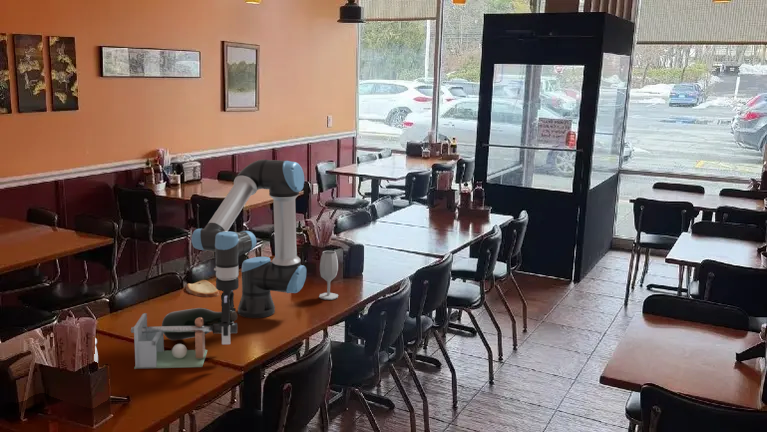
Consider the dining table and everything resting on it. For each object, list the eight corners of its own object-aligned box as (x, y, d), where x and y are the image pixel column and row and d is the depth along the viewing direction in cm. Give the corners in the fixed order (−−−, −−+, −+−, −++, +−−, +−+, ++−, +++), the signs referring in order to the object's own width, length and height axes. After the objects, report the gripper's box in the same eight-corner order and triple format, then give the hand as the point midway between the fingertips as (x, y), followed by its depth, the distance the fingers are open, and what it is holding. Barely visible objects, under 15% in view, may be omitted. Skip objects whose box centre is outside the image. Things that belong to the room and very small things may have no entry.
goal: (164, 351, 241) (162, 313, 238) (156, 368, 228) (154, 327, 225) (144, 352, 240) (143, 313, 238) (135, 368, 227) (133, 327, 224)
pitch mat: (207, 350, 243) (207, 349, 243) (202, 366, 230) (202, 365, 229) (143, 352, 240) (143, 351, 240) (134, 368, 227) (134, 367, 227)
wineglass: (315, 298, 305) (315, 253, 301) (324, 293, 313) (324, 249, 309) (333, 301, 302) (333, 255, 298) (341, 296, 310) (342, 251, 306)
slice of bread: (217, 298, 303) (217, 290, 302) (177, 296, 304) (177, 288, 303) (228, 286, 321) (228, 278, 320) (190, 285, 321) (190, 277, 321)
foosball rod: (238, 350, 240) (237, 314, 238) (236, 357, 235) (236, 320, 232) (134, 352, 236) (133, 315, 233) (130, 359, 230) (129, 321, 227)
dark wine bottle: (156, 321, 247) (218, 310, 229) (175, 307, 256) (237, 295, 238) (168, 346, 250) (231, 336, 232) (188, 331, 258) (249, 321, 240)
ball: (188, 354, 238) (187, 341, 237) (185, 360, 233) (185, 346, 232) (173, 355, 237) (173, 341, 236) (170, 361, 232) (170, 347, 231)
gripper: (219, 267, 243) (220, 324, 247) (211, 288, 219) (212, 350, 223) (241, 267, 244) (241, 324, 248) (235, 288, 220) (236, 350, 224)
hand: (228, 336), depth 236 cm, fingers open, 13 cm apart
